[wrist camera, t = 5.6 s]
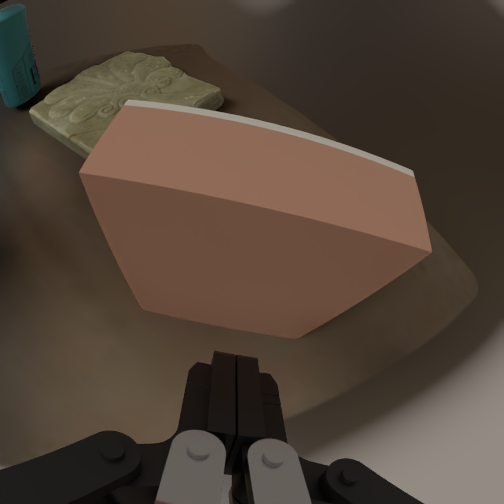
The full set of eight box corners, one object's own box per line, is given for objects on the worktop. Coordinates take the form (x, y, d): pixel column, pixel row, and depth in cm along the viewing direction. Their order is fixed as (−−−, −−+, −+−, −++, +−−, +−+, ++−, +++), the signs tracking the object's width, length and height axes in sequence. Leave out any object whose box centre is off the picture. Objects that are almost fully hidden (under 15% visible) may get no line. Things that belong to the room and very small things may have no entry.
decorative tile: (124, 191, 26) (118, 166, 23) (32, 125, 28) (25, 105, 24) (232, 104, 35) (237, 82, 32) (130, 63, 36) (130, 45, 33)
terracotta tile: (296, 339, 22) (432, 252, 9) (141, 309, 21) (78, 172, 8) (300, 291, 24) (412, 170, 11) (155, 262, 23) (128, 99, 10)
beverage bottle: (44, 103, 29) (22, -20, 12) (5, 122, 26) (-28, 5, 9) (43, 85, 31) (26, -24, 13) (8, 102, 28) (-17, -3, 11)
